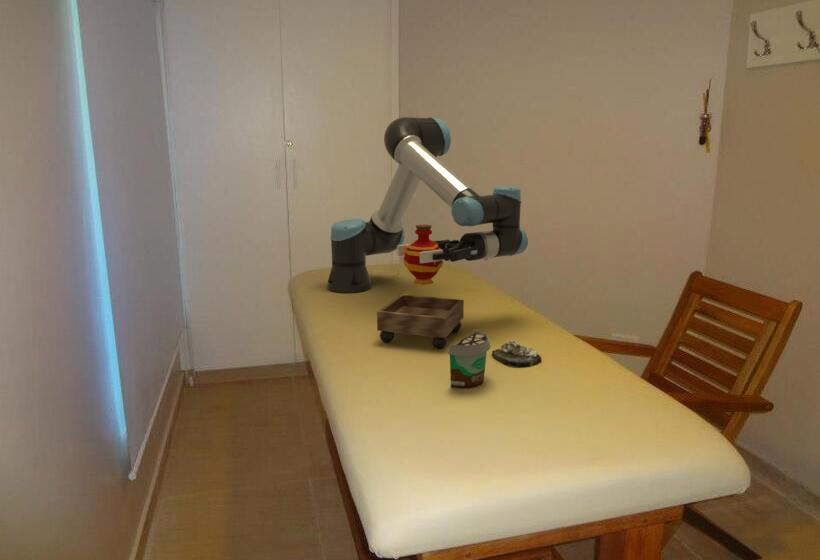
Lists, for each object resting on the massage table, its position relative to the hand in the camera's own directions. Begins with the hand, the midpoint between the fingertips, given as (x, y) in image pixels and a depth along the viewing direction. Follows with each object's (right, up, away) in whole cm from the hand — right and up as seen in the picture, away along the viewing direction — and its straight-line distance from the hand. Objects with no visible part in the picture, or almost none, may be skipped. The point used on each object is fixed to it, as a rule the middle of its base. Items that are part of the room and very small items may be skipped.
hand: (408, 254), depth 153 cm
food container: (+14, -29, -23) cm, 40 cm away
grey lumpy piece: (+26, -26, -9) cm, 38 cm away
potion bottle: (+4, -7, +4) cm, 9 cm away
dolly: (+3, -22, +6) cm, 23 cm away
